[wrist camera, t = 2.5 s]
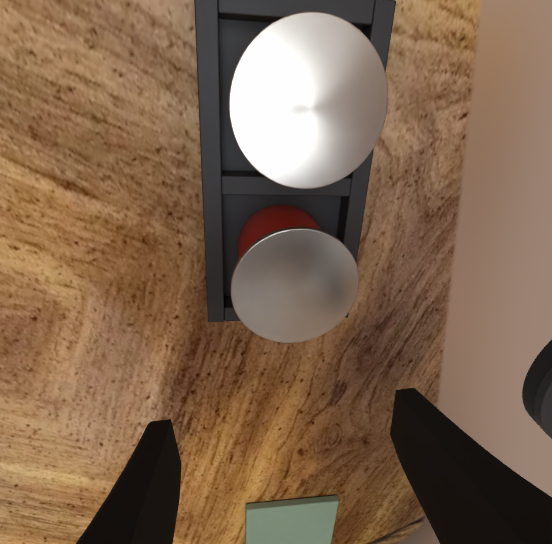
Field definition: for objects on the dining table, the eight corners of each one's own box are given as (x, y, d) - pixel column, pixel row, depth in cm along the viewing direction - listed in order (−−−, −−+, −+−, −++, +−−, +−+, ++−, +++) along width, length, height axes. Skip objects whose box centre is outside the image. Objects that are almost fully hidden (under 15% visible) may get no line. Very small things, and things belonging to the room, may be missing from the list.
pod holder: (380, 8, 15) (396, -1, 13) (339, 302, 21) (348, 318, 19) (196, -7, 14) (193, -18, 12) (209, 305, 20) (208, 322, 18)
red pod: (334, 196, 18) (368, 228, 13) (324, 288, 20) (350, 340, 16) (228, 194, 17) (229, 228, 13) (229, 290, 19) (231, 345, 15)
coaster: (337, 494, 28) (338, 501, 28) (327, 547, 32) (329, 553, 31) (245, 503, 28) (246, 510, 27) (245, 556, 31) (245, 563, 30)
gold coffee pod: (353, 37, 15) (402, 18, 11) (338, 166, 17) (374, 190, 13) (226, 28, 14) (227, 4, 10) (228, 163, 16) (229, 188, 12)
